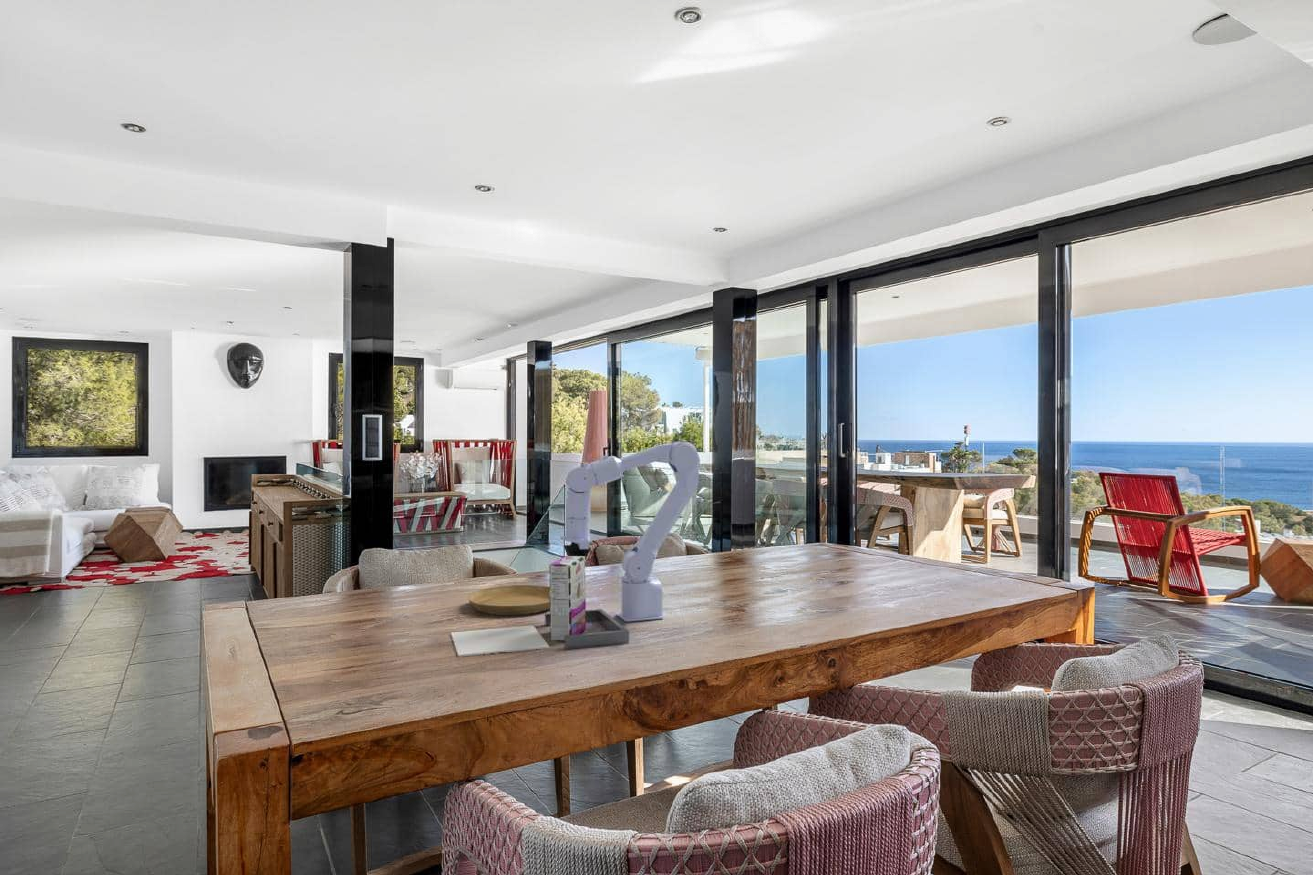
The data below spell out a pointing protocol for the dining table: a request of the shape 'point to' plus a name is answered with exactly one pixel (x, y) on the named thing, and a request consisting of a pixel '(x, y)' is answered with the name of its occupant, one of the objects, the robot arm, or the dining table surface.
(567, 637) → the gray u-shaped frame
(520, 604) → the plant saucer
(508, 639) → the mat
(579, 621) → the candy bar box
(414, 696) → the dining table surface
